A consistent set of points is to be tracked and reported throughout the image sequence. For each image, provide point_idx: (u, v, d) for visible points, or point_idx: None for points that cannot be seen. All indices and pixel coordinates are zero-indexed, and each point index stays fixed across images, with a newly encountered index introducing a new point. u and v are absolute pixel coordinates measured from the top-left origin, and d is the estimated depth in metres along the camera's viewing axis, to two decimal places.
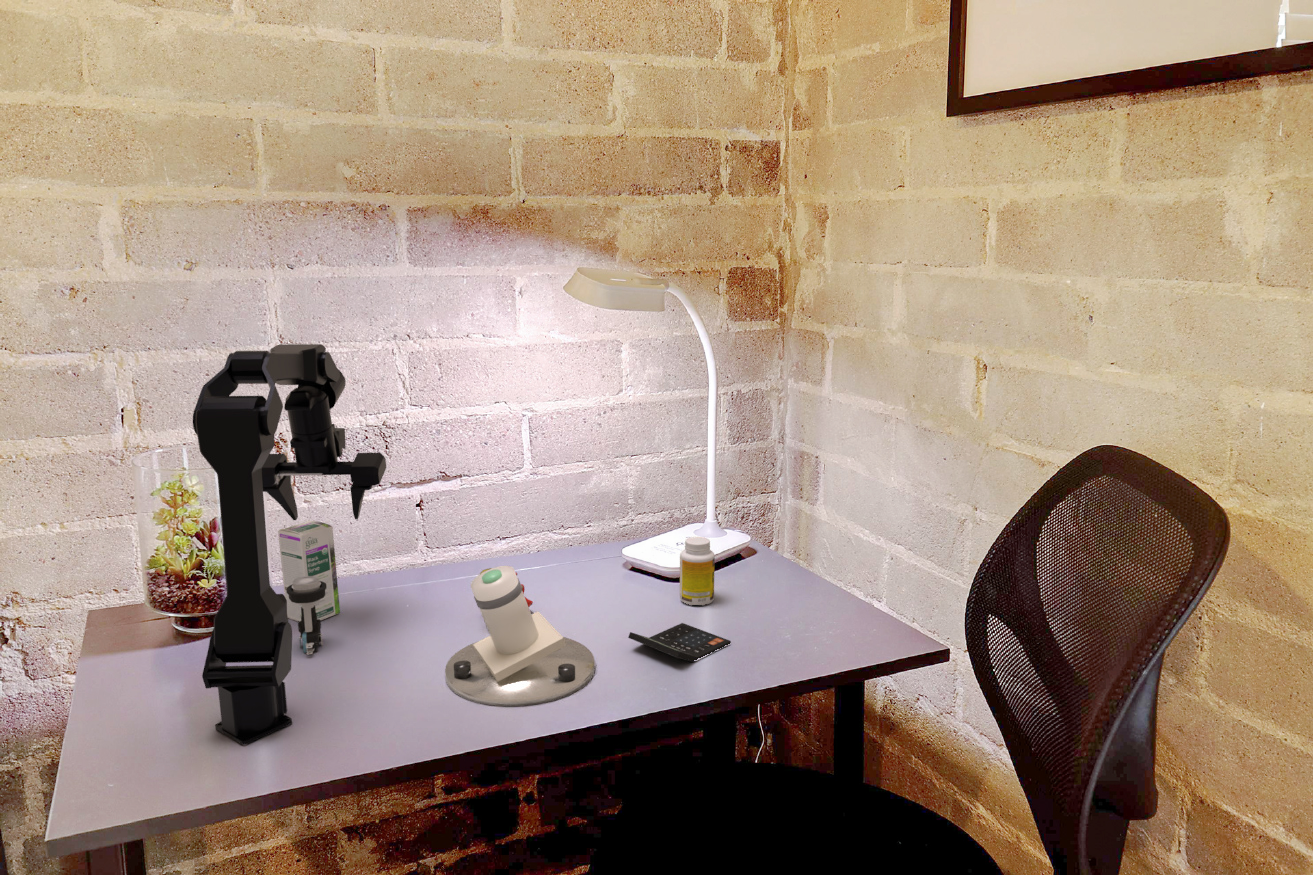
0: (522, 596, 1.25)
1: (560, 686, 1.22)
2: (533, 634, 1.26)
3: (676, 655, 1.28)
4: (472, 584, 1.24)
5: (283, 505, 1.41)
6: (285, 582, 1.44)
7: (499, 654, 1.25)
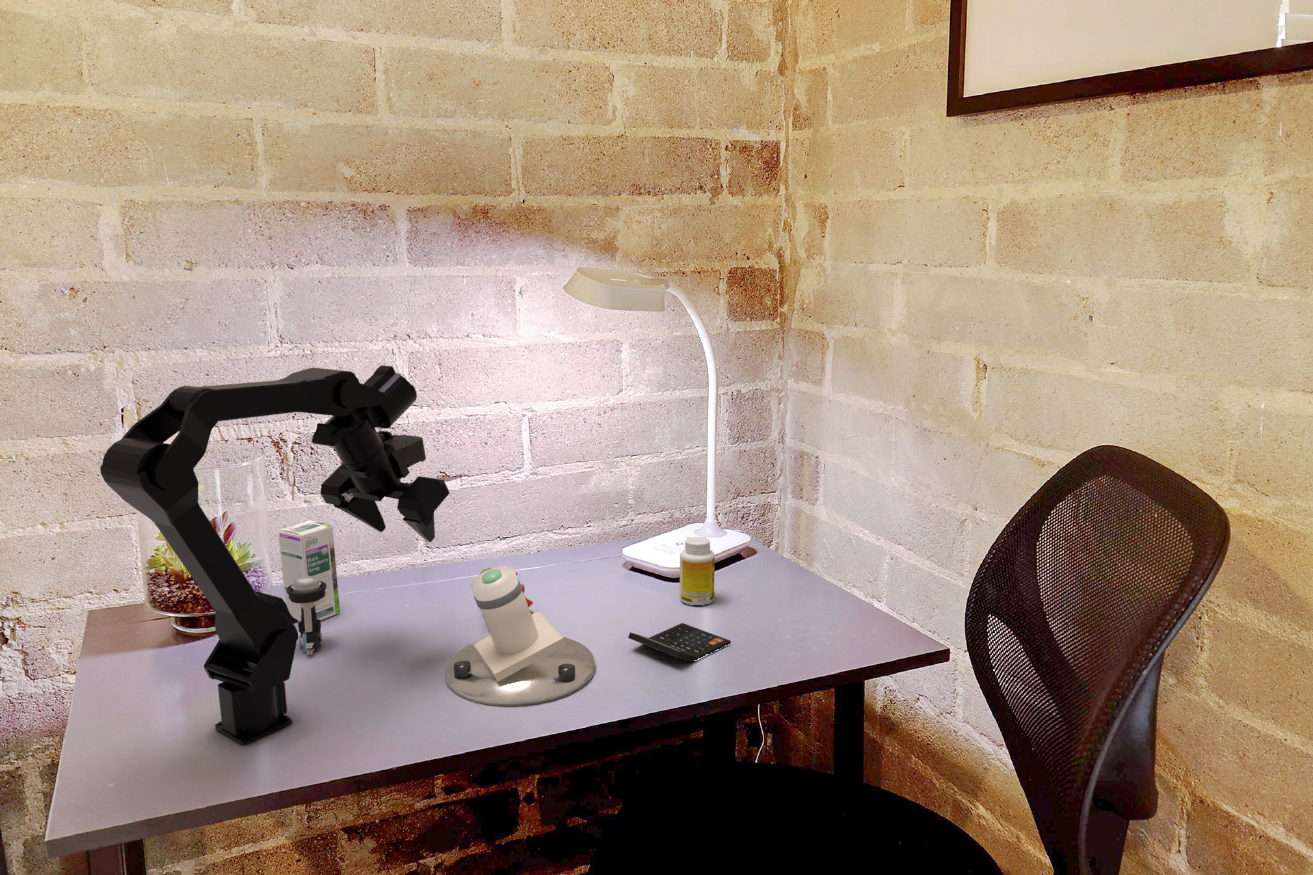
0: (522, 596, 1.25)
1: (560, 686, 1.22)
2: (533, 634, 1.26)
3: (676, 655, 1.28)
4: (472, 584, 1.24)
5: (361, 520, 1.33)
6: (285, 582, 1.44)
7: (499, 654, 1.25)
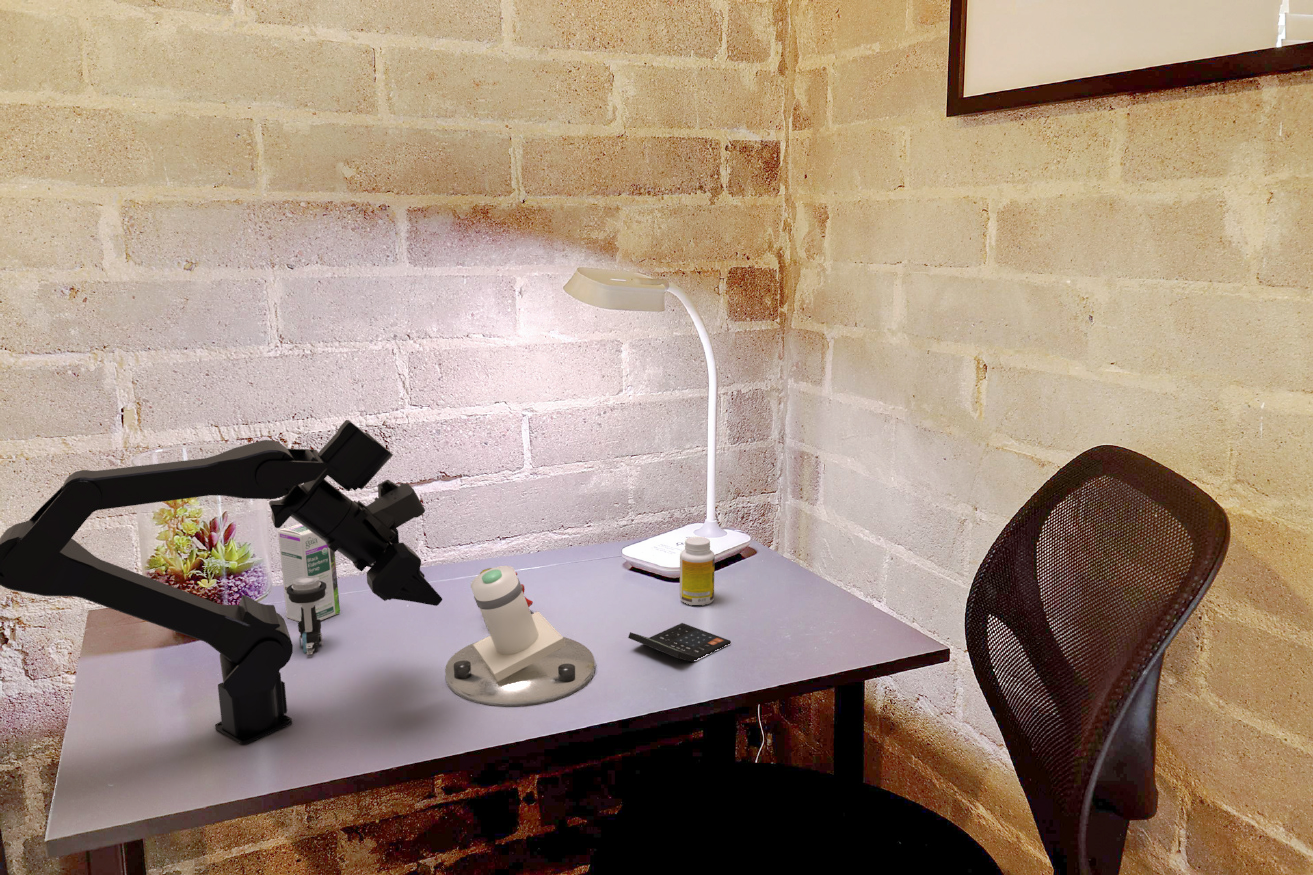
0: (522, 596, 1.25)
1: (560, 686, 1.22)
2: (533, 634, 1.26)
3: (676, 655, 1.28)
4: (472, 584, 1.24)
5: None
6: (285, 582, 1.44)
7: (499, 654, 1.25)
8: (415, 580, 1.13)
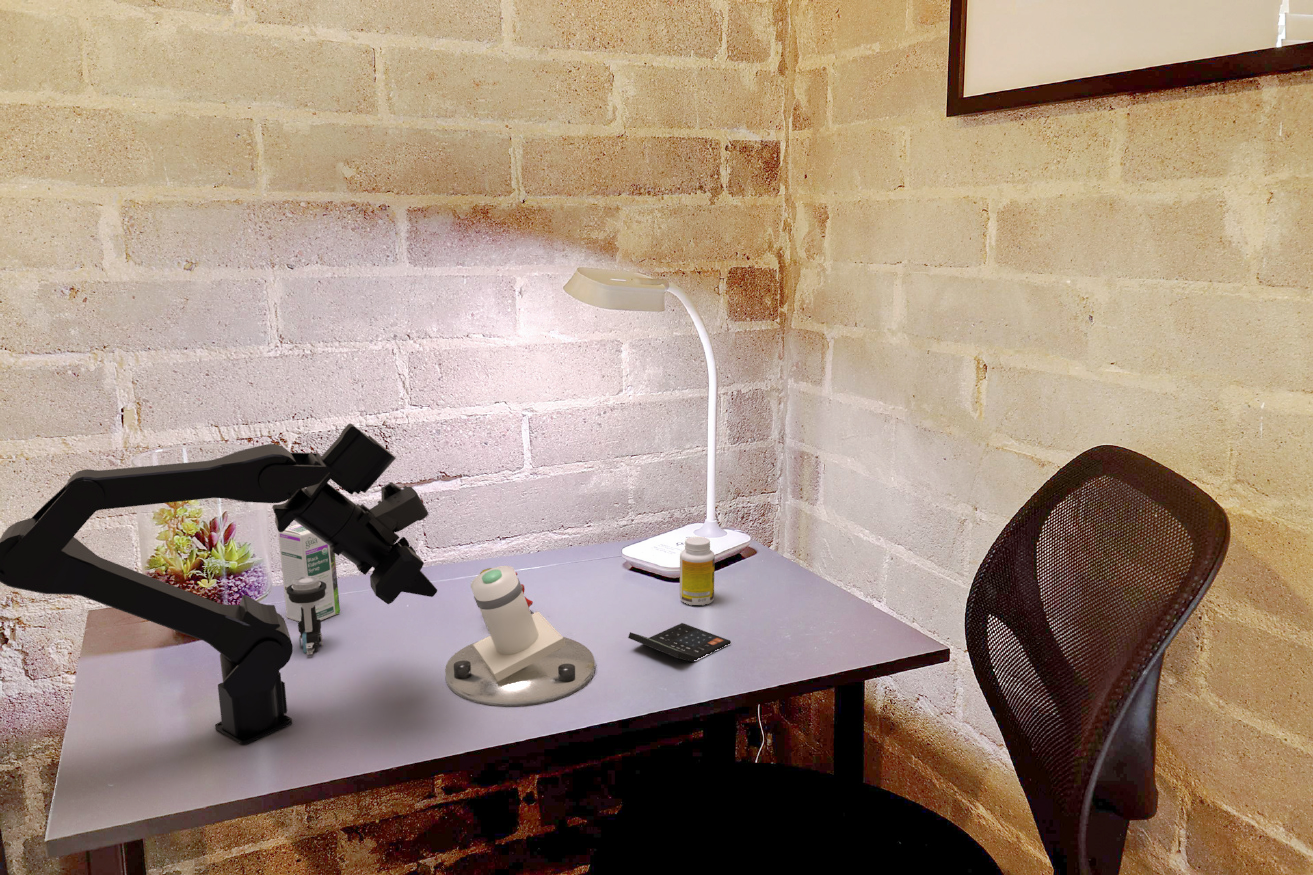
0: (522, 596, 1.25)
1: (560, 686, 1.22)
2: (533, 634, 1.26)
3: (676, 655, 1.28)
4: (472, 584, 1.24)
5: None
6: (285, 582, 1.44)
7: (499, 654, 1.25)
8: None
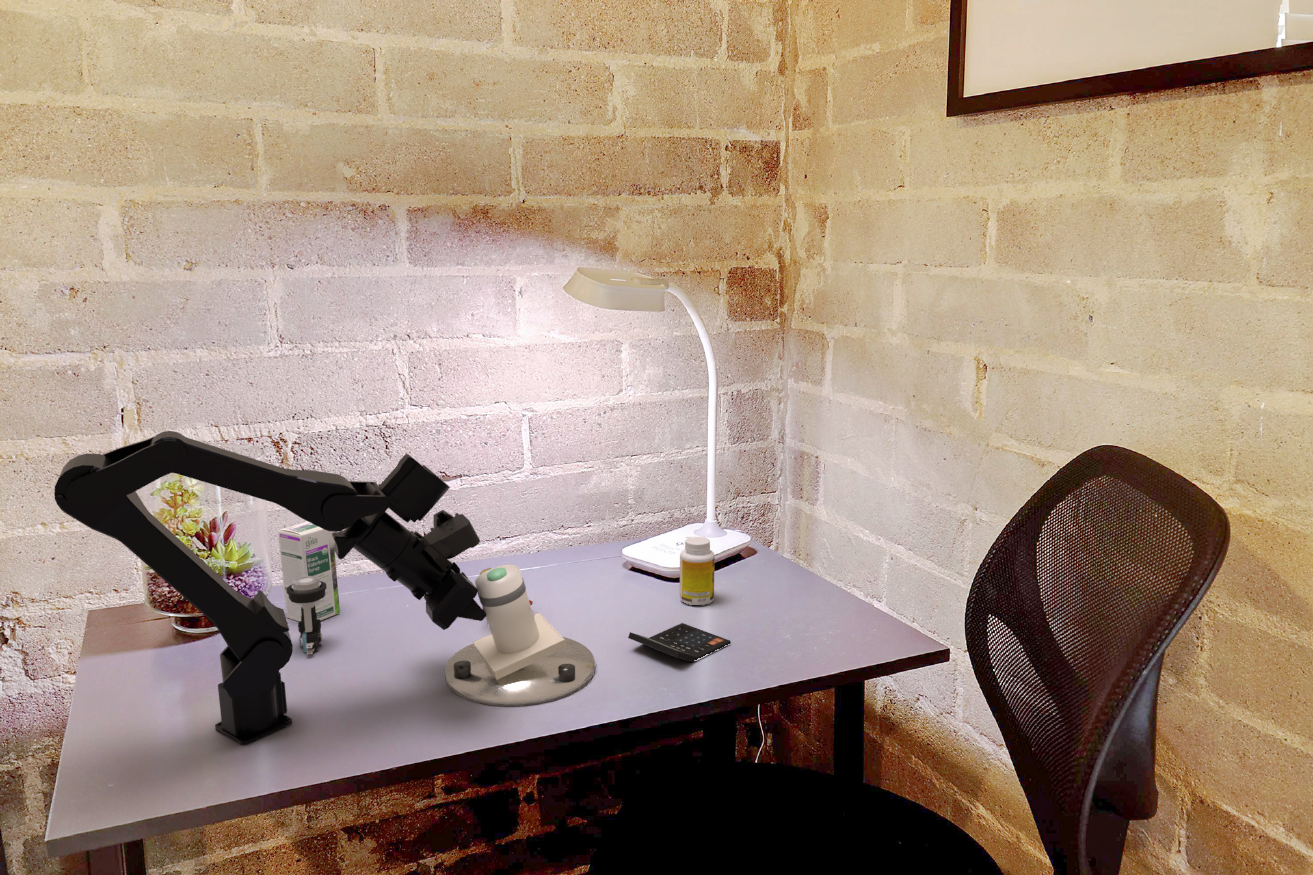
0: (525, 596, 1.25)
1: (560, 686, 1.22)
2: (534, 634, 1.26)
3: (676, 655, 1.28)
4: (476, 581, 1.24)
5: None
6: (285, 582, 1.44)
7: (499, 652, 1.25)
8: None
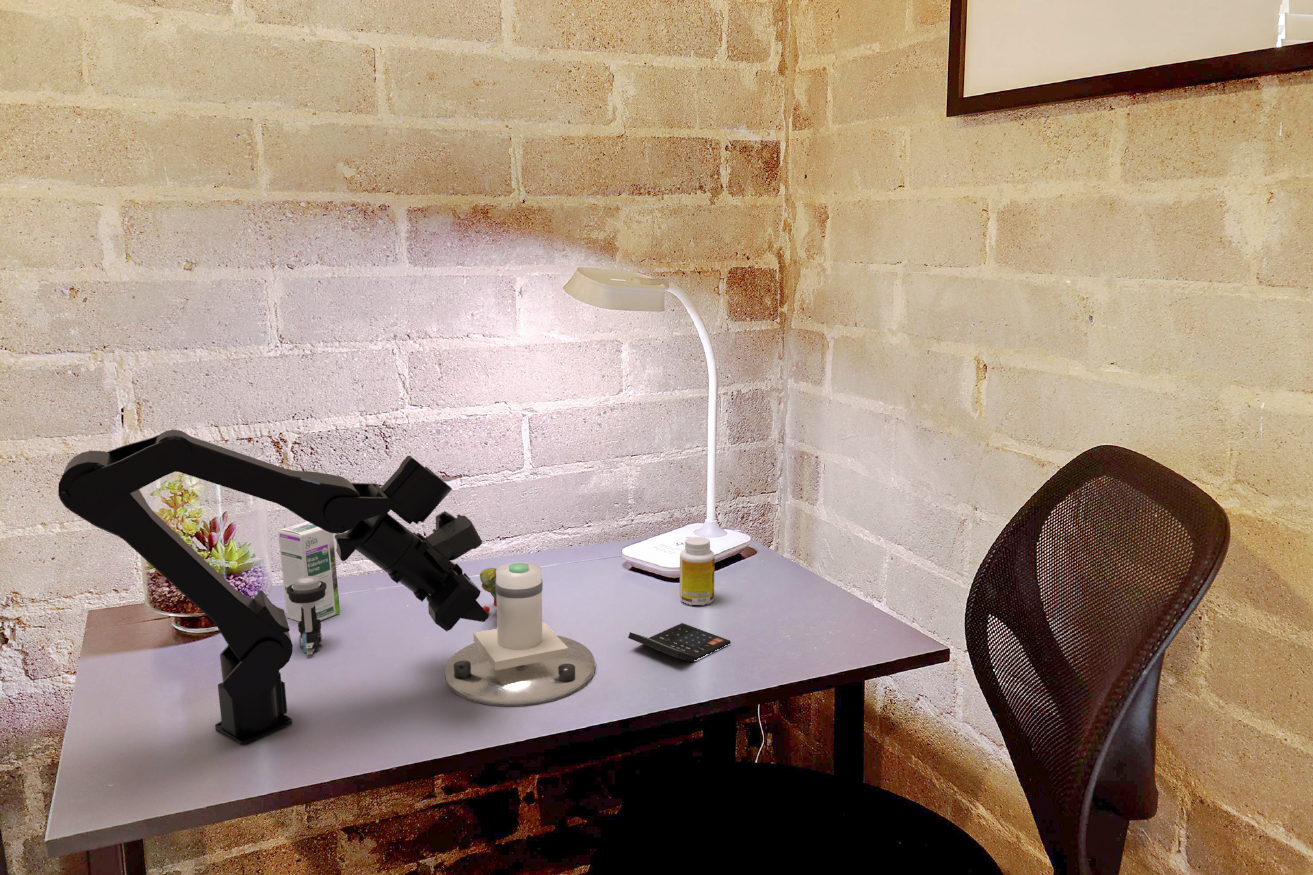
0: (541, 596, 1.26)
1: (560, 686, 1.22)
2: (539, 637, 1.26)
3: (676, 655, 1.28)
4: (497, 570, 1.25)
5: None
6: (285, 582, 1.44)
7: (500, 646, 1.25)
8: None
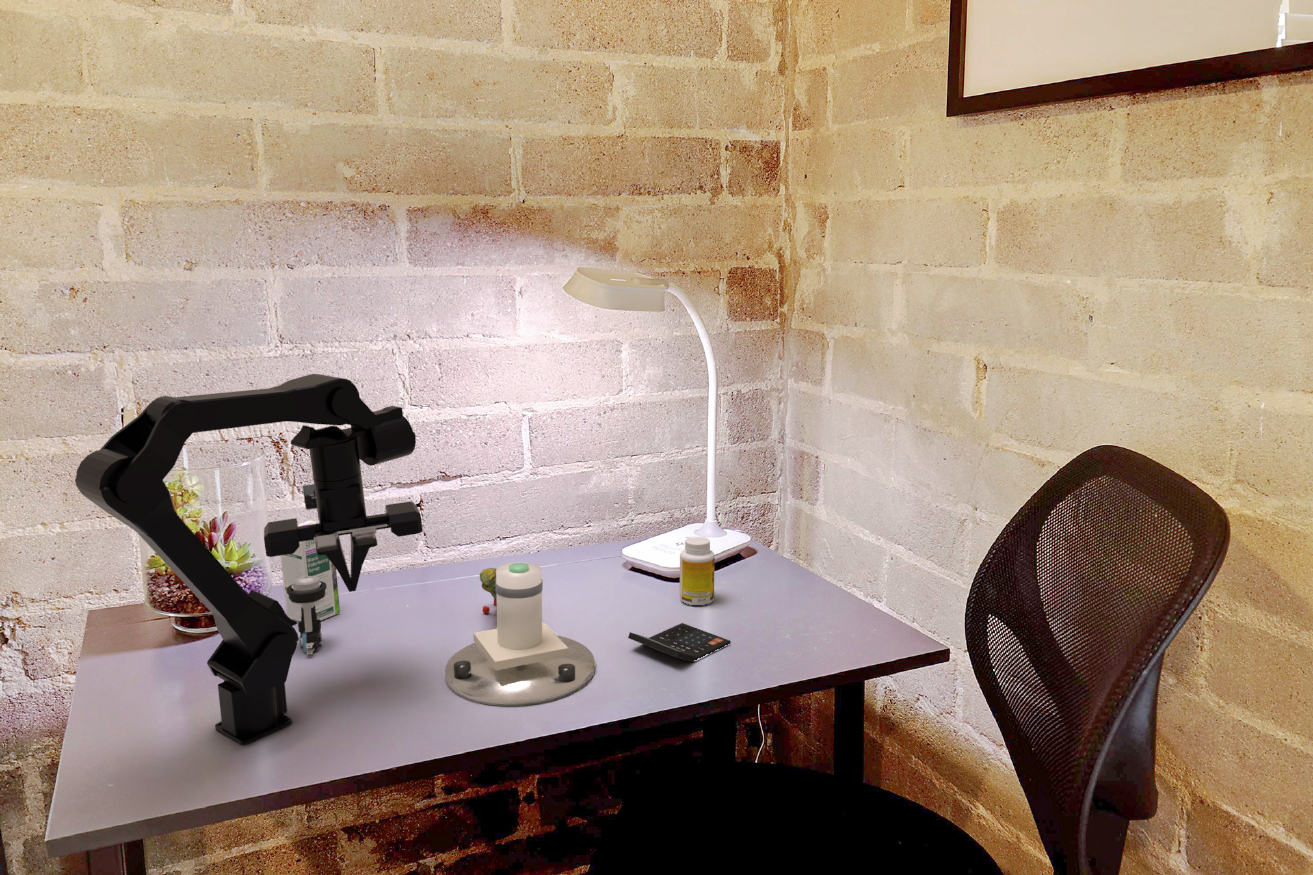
0: (541, 596, 1.26)
1: (560, 686, 1.22)
2: (539, 637, 1.26)
3: (676, 655, 1.28)
4: (497, 570, 1.25)
5: (341, 571, 1.19)
6: (285, 582, 1.44)
7: (500, 646, 1.25)
8: None
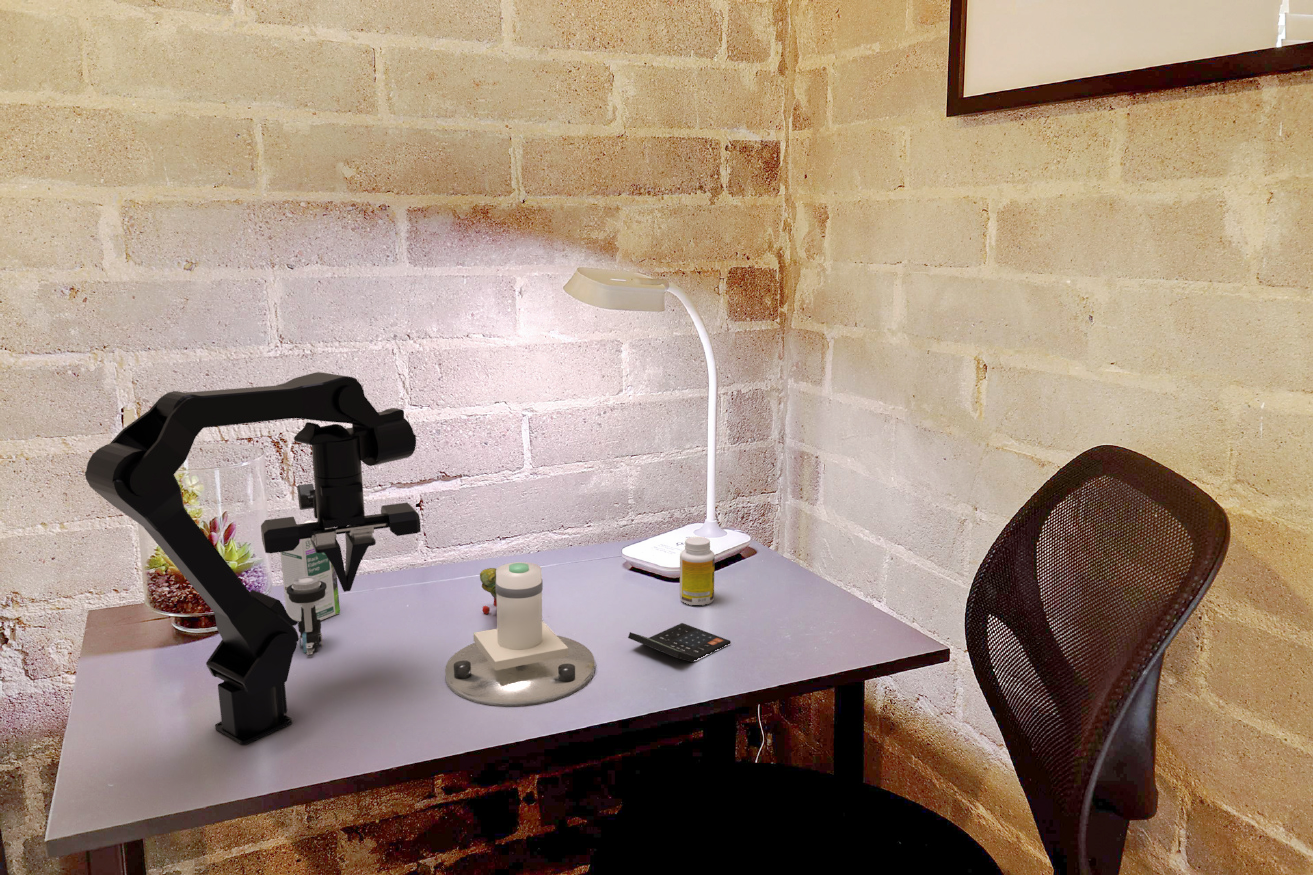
0: (541, 596, 1.26)
1: (560, 686, 1.22)
2: (539, 637, 1.26)
3: (676, 655, 1.28)
4: (497, 570, 1.25)
5: (338, 570, 1.19)
6: (285, 582, 1.44)
7: (500, 646, 1.25)
8: None
